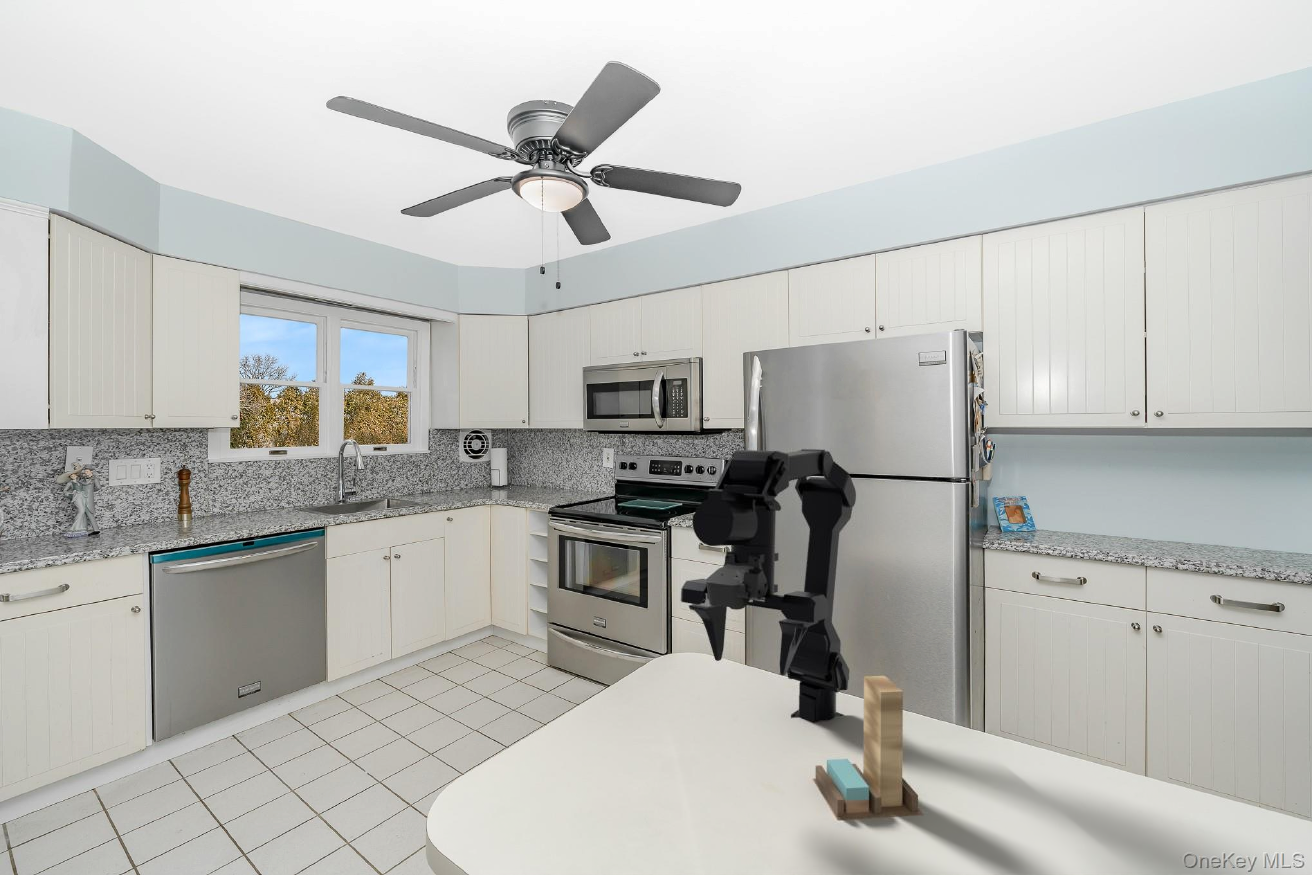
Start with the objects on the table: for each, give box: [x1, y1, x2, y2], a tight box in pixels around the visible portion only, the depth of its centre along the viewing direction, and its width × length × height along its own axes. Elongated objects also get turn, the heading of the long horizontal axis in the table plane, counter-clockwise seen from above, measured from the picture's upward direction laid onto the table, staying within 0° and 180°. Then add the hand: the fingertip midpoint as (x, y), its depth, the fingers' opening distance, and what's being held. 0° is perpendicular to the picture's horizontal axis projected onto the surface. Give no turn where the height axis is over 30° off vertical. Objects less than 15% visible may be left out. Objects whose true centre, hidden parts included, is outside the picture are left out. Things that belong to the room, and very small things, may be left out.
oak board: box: [862, 675, 904, 807], centre depth 72 cm, size 4×3×14 cm, turn 5°
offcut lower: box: [826, 771, 869, 813], centre depth 71 cm, size 6×3×2 cm, turn 5°
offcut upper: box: [826, 758, 869, 801], centre depth 71 cm, size 6×3×2 cm, turn 5°
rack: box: [812, 763, 924, 821], centre depth 71 cm, size 8×11×3 cm
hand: (749, 667), depth 74 cm, fingers open, 9 cm apart
